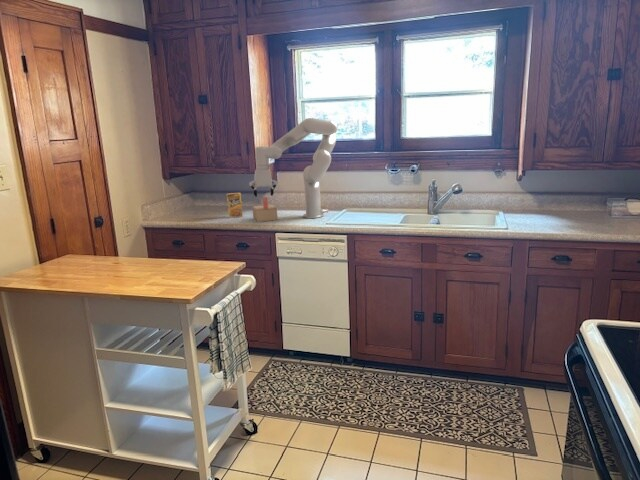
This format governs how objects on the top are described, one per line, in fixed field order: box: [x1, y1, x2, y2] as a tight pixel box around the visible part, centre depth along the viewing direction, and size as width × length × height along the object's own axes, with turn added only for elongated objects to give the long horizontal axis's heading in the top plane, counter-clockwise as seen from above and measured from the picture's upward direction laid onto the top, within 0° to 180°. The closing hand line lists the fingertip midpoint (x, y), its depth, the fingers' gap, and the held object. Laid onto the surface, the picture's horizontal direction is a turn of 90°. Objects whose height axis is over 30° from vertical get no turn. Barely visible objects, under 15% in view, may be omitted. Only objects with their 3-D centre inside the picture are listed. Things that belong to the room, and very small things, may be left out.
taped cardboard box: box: [252, 196, 277, 210], centre depth 299 cm, size 12×12×7 cm
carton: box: [252, 207, 278, 223], centre depth 301 cm, size 13×13×7 cm
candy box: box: [225, 192, 244, 219], centre depth 311 cm, size 9×4×15 cm, turn 107°
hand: (263, 196), depth 294 cm, fingers open, 9 cm apart
